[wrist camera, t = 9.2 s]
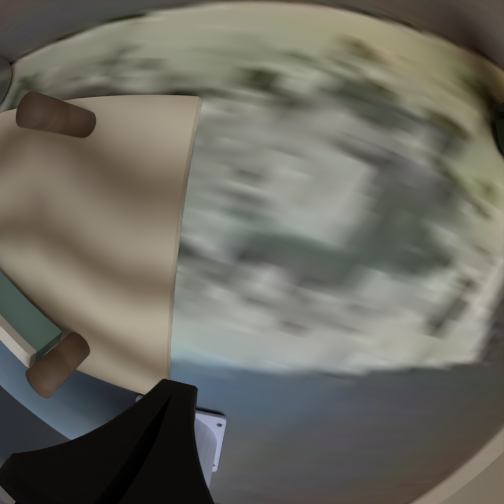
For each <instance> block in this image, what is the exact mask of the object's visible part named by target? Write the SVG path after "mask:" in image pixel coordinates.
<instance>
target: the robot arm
mask: <svg viewBox="0 0 504 504" xmlns="http://www.w3.org/2000/svg"><path fill="white" fill-rule="evenodd" d="M197 392H198V389H197V388H196V386H193V385H189V384H184V383H180V382H176V381H172V380H168V379H165V378H164V379H162V380H160V381H159V382H158V383H157V384H156V385H155V386H154V387H153V388H152V389H151V390H150V391H149V392H148V393H146V394H145V395H144V396H142V395H138V396H137V397H136V403H134V404H133V405H132V406H131V407H129V408H128V409H127V410H125V411H124V412H122V413H121V414H119V415H118V416H117V417H115V418H114V419H112V420H111V421H109V422H107V423H106V424H104V425H102V426H101V427H99V428H97V429H95V430H93V431H91V432H89V433H87V434H85V435H83V436H80V437H78V438H76V439H73V440H71V441H68V442H65V443H63V444H59V445H55V446H52V447H48V448H45V449H41V450H35V451H29V452H22V453H13V454H12V455H11V456H10V457H9V458H8V459H7V460H6V462H5V463H4V464H3V466H2V467H1V468H0V486H1V487H2V488H3V489H4V490H5V491H6V492H7V493H8V494H9V495H10V496H11V497H12V498H13V499H14V500H15V501H16V503H15V504H214V502H213V499H212V497H211V494H210V492H209V485H210V479H211V474H212V471H213V472H214V471H217V467H218V462H219V456H220V451H221V446H222V441H223V436H224V430H225V425H226V417H224V416H222V415H218V414H213V413H208V412H203V411H198V410H196V403H197ZM218 423H220V424H218ZM0 504H7V503H6V502H5V501H4V500H3V499H1V498H0Z"/></svg>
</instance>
